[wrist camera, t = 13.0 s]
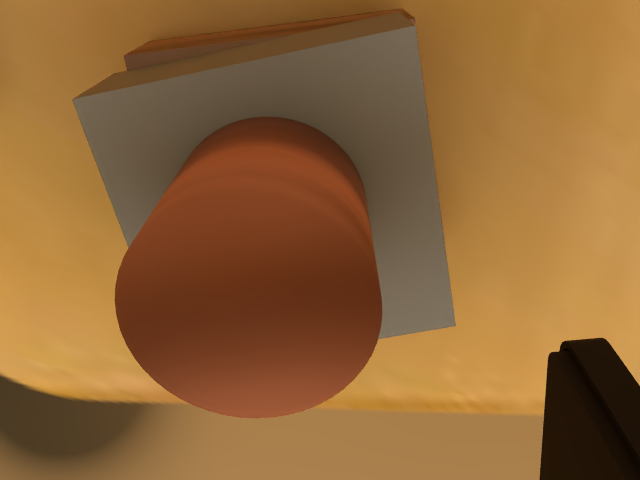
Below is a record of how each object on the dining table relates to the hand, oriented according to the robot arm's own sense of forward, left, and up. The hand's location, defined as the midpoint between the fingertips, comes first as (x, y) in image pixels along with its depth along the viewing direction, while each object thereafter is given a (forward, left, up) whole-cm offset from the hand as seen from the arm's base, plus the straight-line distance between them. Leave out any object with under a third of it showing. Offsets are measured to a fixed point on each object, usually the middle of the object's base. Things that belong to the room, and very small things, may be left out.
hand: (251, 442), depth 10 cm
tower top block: (+1, 0, -15) cm, 15 cm away
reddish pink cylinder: (0, -1, -11) cm, 11 cm away
